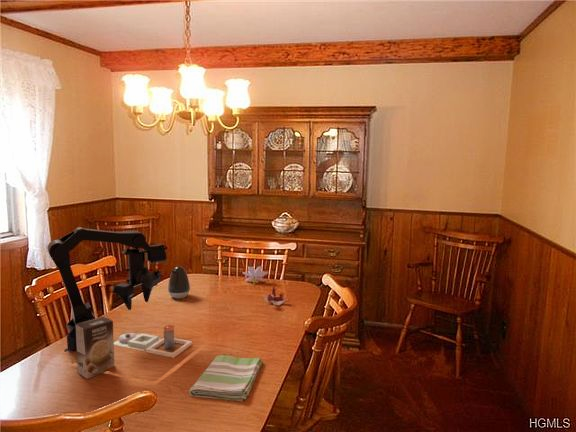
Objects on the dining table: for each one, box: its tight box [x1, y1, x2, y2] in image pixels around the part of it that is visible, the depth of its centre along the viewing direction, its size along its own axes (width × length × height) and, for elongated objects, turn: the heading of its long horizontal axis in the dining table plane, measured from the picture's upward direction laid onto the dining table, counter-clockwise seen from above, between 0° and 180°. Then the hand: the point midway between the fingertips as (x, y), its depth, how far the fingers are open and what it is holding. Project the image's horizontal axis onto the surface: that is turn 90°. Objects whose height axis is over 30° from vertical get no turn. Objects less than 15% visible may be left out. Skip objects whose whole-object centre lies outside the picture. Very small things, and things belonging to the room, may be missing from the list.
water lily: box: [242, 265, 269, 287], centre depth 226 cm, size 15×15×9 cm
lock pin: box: [163, 324, 175, 351], centre depth 149 cm, size 4×4×8 cm
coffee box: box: [76, 316, 115, 380], centre depth 134 cm, size 9×6×16 cm
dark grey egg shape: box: [167, 265, 191, 300], centre depth 204 cm, size 10×10×15 cm
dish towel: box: [188, 354, 264, 402], centre depth 131 cm, size 17×23×4 cm
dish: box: [145, 337, 193, 359], centre depth 149 cm, size 11×11×2 cm
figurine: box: [261, 285, 288, 307], centre depth 197 cm, size 15×12×7 cm
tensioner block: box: [114, 332, 162, 352], centre depth 154 cm, size 10×14×3 cm
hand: (138, 305), depth 159 cm, fingers open, 9 cm apart
